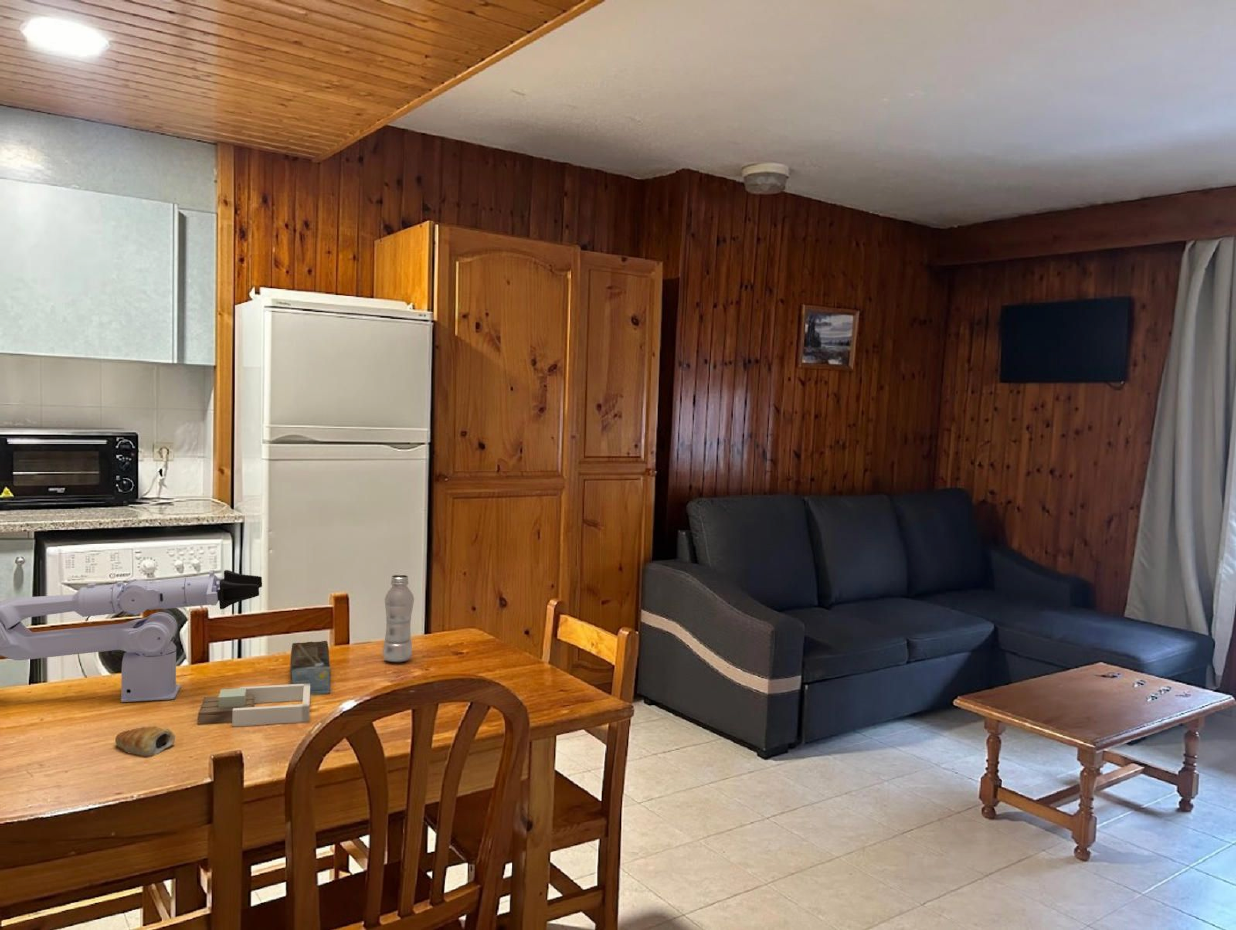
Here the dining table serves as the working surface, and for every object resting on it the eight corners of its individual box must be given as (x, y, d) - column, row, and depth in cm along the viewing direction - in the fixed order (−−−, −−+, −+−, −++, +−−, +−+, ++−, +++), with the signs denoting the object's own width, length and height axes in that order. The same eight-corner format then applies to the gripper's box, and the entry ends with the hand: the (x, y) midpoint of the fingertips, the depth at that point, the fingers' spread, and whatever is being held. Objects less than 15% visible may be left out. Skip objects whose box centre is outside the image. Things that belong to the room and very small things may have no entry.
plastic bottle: (384, 657, 209) (386, 573, 207) (413, 657, 210) (416, 573, 208) (380, 665, 202) (382, 578, 201) (410, 665, 203) (412, 579, 202)
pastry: (103, 751, 149) (104, 729, 149) (135, 737, 156) (136, 716, 156) (149, 759, 147) (149, 737, 147) (179, 745, 153) (180, 723, 153)
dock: (232, 726, 162) (232, 710, 162) (239, 702, 175) (239, 687, 175) (308, 721, 166) (309, 705, 166) (309, 697, 179) (310, 683, 179)
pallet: (197, 728, 162) (197, 713, 162) (203, 711, 171) (204, 696, 171) (250, 724, 165) (250, 709, 165) (254, 708, 174) (254, 694, 174)
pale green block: (218, 707, 165) (218, 697, 165) (220, 699, 170) (220, 689, 169) (244, 706, 167) (244, 695, 167) (246, 698, 171) (246, 688, 171)
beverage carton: (289, 697, 179) (289, 665, 179) (290, 669, 197) (291, 640, 197) (330, 694, 182) (331, 663, 182) (328, 667, 200) (328, 638, 200)
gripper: (179, 580, 170) (256, 574, 174) (191, 565, 183) (261, 559, 187) (182, 616, 170) (258, 609, 174) (193, 598, 184) (263, 592, 188)
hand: (260, 585), depth 181 cm, fingers open, 7 cm apart
